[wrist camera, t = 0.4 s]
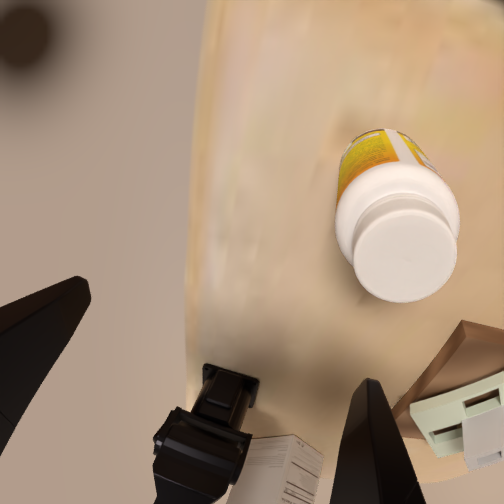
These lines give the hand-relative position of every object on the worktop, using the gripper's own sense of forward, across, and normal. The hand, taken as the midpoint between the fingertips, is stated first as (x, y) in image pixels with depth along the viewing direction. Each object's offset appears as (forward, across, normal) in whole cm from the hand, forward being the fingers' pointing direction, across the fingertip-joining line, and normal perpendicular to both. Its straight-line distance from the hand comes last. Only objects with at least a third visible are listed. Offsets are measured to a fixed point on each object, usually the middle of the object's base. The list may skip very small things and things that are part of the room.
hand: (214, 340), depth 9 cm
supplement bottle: (+14, -5, -2) cm, 16 cm away
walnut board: (+14, -26, +16) cm, 34 cm away
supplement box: (+15, -10, +41) cm, 44 cm away
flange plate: (+11, -26, +16) cm, 33 cm away
